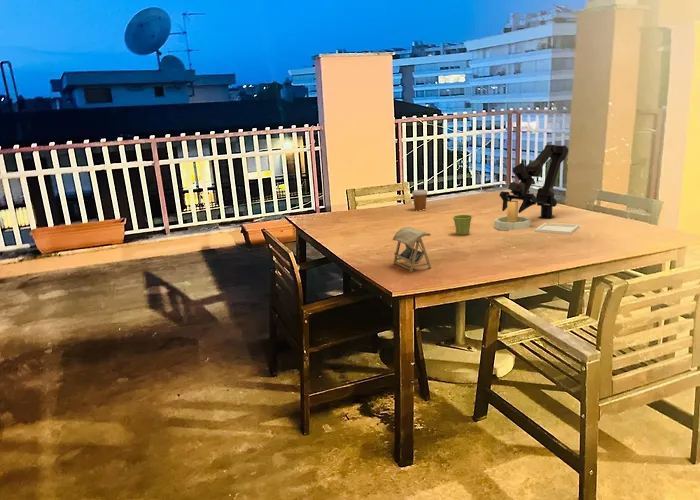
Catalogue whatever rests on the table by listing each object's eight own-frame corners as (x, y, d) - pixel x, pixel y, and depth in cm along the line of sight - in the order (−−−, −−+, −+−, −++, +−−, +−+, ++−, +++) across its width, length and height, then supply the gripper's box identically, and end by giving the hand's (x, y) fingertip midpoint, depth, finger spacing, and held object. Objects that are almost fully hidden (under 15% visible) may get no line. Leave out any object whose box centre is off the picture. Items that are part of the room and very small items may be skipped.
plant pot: (450, 235, 260) (450, 218, 258) (456, 231, 268) (455, 214, 266) (469, 236, 256) (469, 218, 254) (474, 232, 264) (474, 214, 262)
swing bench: (392, 264, 219) (390, 228, 215) (412, 260, 223) (411, 225, 219) (410, 272, 206) (409, 235, 202) (432, 268, 210) (430, 231, 206)
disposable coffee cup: (429, 211, 326) (428, 191, 323) (413, 212, 326) (412, 192, 323) (427, 208, 335) (426, 189, 332) (411, 209, 335) (410, 190, 332)
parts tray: (545, 226, 266) (545, 222, 265) (579, 228, 256) (579, 224, 256) (534, 233, 253) (534, 229, 253) (570, 236, 244) (570, 231, 243)
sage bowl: (502, 223, 279) (502, 215, 278) (533, 225, 270) (533, 217, 269) (490, 229, 267) (490, 221, 266) (522, 232, 258) (522, 223, 257)
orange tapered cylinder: (514, 224, 271) (514, 200, 268) (519, 225, 266) (519, 201, 263) (505, 225, 270) (505, 201, 267) (510, 226, 265) (510, 202, 262)
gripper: (501, 175, 272) (487, 200, 268) (534, 177, 257) (520, 203, 254) (510, 188, 278) (497, 213, 275) (543, 191, 264) (529, 217, 260)
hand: (510, 211), depth 266 cm, fingers open, 9 cm apart
